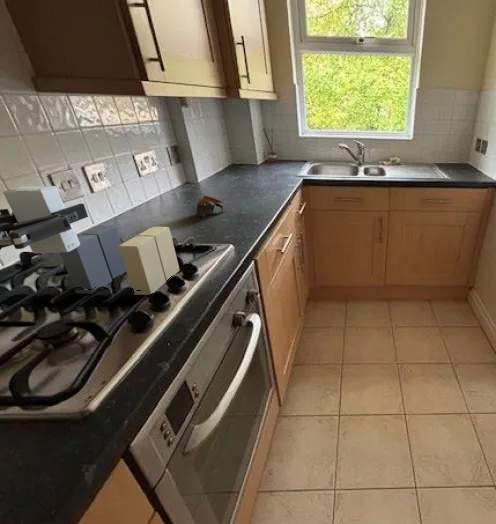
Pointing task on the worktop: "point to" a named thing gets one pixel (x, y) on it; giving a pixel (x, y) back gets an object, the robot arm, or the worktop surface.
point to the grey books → (95, 258)
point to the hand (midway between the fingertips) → (66, 209)
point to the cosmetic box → (41, 215)
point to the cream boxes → (149, 259)
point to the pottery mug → (208, 205)
